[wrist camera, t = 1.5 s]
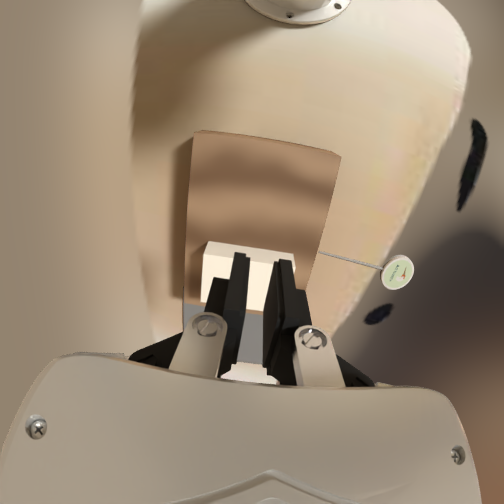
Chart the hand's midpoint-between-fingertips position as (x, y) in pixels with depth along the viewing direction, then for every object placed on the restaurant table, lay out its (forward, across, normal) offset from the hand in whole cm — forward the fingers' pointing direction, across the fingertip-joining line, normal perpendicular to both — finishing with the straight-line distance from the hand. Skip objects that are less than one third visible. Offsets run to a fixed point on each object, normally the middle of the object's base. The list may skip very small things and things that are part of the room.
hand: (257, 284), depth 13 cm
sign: (+20, -16, +8) cm, 27 cm away
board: (+19, 0, +5) cm, 20 cm away
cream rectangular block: (+15, 0, +9) cm, 18 cm away
